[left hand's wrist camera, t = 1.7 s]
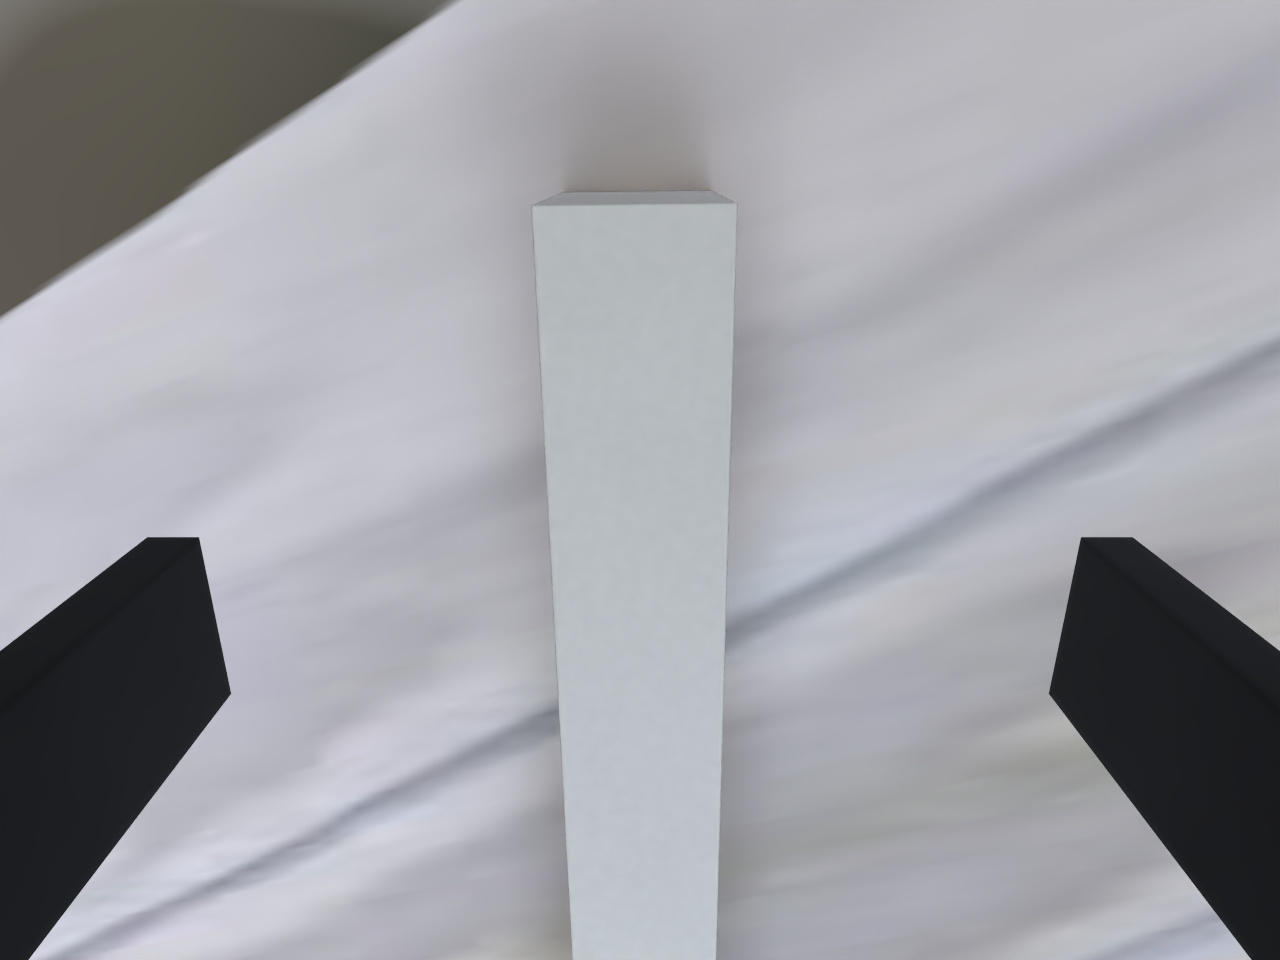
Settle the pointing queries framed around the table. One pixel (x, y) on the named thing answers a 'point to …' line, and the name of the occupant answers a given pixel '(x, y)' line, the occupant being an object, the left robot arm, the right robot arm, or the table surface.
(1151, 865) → the table surface
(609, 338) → the beam
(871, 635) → the table surface
